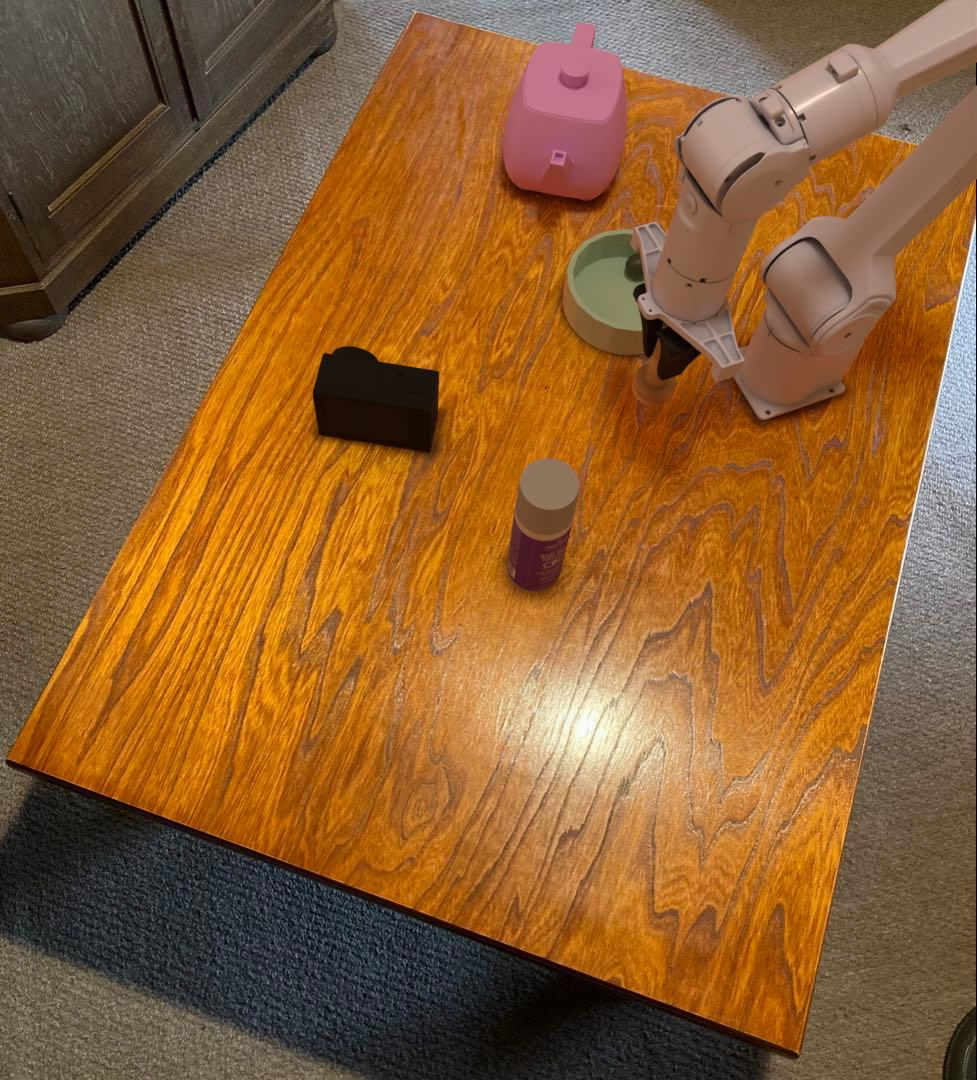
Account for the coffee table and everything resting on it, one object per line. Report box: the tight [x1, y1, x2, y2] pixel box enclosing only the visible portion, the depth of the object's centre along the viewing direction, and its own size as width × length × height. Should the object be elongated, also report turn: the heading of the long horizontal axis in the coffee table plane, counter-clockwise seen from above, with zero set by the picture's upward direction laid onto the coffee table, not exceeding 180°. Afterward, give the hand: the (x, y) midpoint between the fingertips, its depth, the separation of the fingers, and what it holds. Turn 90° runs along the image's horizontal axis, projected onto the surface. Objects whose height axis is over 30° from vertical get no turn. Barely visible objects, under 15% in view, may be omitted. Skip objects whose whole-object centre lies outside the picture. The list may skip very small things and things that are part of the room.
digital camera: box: [312, 345, 440, 453], centre depth 96 cm, size 10×5×7 cm, turn 81°
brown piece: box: [631, 322, 677, 407], centre depth 90 cm, size 4×4×9 cm
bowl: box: [562, 228, 645, 356], centre depth 105 cm, size 12×12×4 cm
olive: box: [625, 253, 644, 278], centre depth 106 cm, size 2×2×2 cm
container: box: [506, 457, 580, 594], centre depth 87 cm, size 5×5×15 cm
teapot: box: [502, 21, 628, 202], centre depth 108 cm, size 20×12×13 cm, turn 169°
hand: (662, 362), depth 91 cm, fingers closed on brown piece, 2 cm apart
